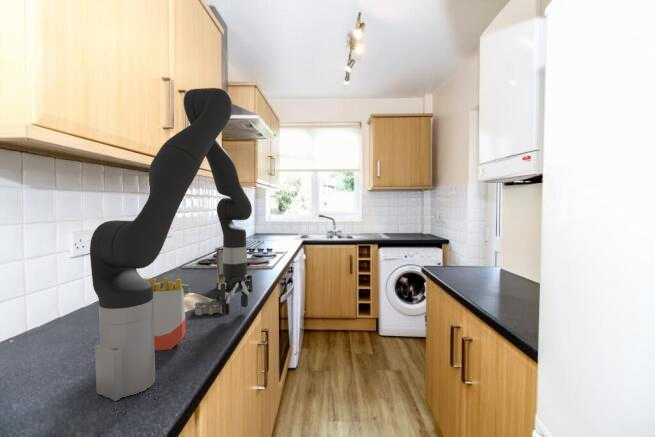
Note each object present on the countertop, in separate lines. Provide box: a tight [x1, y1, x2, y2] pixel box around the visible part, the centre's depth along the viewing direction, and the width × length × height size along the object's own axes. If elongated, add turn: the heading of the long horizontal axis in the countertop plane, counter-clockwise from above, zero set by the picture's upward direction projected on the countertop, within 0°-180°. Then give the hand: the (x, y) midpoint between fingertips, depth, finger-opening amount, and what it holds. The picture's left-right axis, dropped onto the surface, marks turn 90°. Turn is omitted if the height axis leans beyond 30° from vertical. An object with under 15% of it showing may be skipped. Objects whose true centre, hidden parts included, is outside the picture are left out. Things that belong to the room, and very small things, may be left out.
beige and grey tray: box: [159, 280, 214, 313], centre depth 119 cm, size 20×28×5 cm
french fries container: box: [142, 277, 186, 351], centre depth 83 cm, size 5×11×18 cm, turn 102°
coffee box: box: [216, 249, 225, 284], centre depth 138 cm, size 9×6×16 cm
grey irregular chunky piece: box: [194, 296, 227, 316], centre depth 110 cm, size 11×8×4 cm
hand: (235, 310), depth 105 cm, fingers open, 8 cm apart
